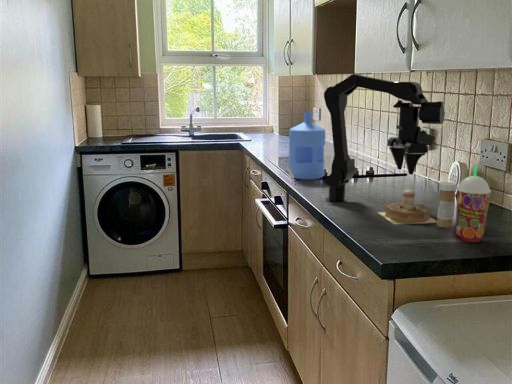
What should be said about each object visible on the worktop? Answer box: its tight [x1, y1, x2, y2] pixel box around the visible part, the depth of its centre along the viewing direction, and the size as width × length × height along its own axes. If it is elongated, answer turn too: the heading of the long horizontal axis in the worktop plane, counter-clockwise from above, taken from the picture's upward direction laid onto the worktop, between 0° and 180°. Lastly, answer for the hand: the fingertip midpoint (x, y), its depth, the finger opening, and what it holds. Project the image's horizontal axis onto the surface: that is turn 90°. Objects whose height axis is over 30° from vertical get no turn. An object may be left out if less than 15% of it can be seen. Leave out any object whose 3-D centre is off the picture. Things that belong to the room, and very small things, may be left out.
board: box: [377, 211, 437, 225], centre depth 155 cm, size 14×14×1 cm
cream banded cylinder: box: [402, 189, 416, 210], centre depth 154 cm, size 3×3×8 cm
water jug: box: [288, 111, 326, 181], centre depth 222 cm, size 16×16×28 cm
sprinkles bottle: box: [436, 181, 458, 229], centre depth 145 cm, size 5×5×14 cm
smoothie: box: [455, 165, 492, 243], centre depth 135 cm, size 8×8×20 cm
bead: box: [384, 202, 431, 223], centre depth 155 cm, size 12×12×3 cm
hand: (405, 171), depth 164 cm, fingers open, 9 cm apart
